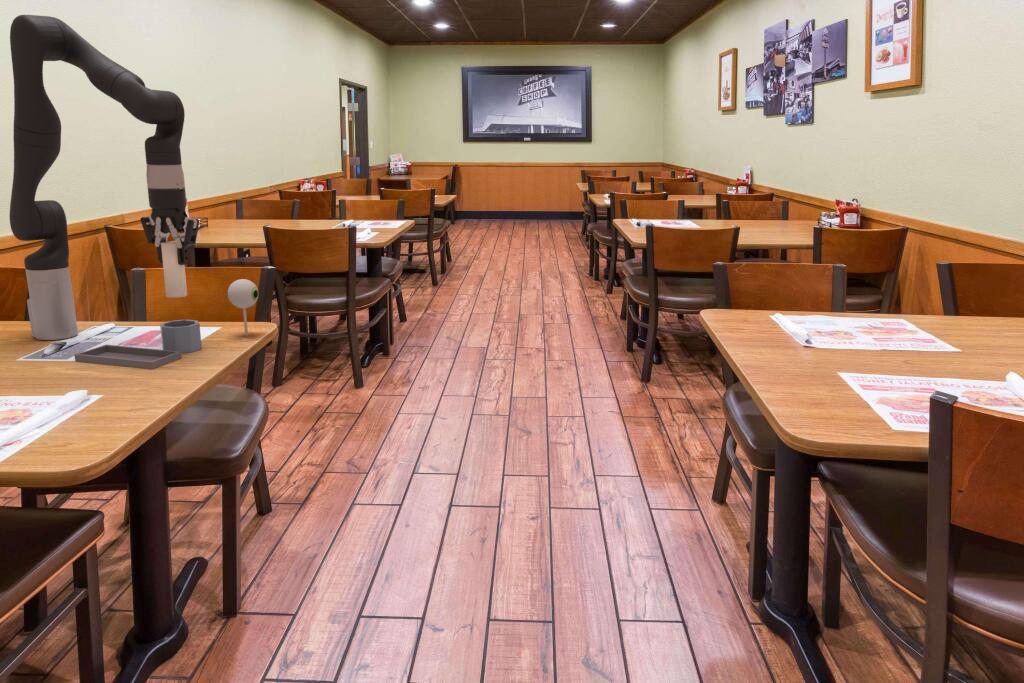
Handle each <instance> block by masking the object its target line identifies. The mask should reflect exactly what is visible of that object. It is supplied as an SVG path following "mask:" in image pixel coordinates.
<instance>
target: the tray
mask: <svg viewBox="0 0 1024 683" xmlns="http://www.w3.org/2000/svg"><path fill="white" fill-rule="evenodd" d="M181 359H182V354H181V352H180V351H170V350H163V349H158V348H148V347H137V346H125V345H115V344H104V345H100V346H98V347H94V348H91V349H88V350H84V351H82V352H78V353H75V354H74V361H75V362H79V363H87V364H96V365H104V366H105V365H109V366H119V367H128V368H133V369H135V368H136V369H137V368H138V369H144V370H155V369H158V368H160V367H163V366H165V365H169V364H170V363H173V362H175V361H178V360H181Z"/></svg>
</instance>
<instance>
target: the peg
mask: <svg viewBox="0 0 1024 683" xmlns="http://www.w3.org/2000/svg"><path fill="white" fill-rule="evenodd" d="M177 248H178V246H177V244H176V241H175V240H172V241H167V242H162V243H161V249H162V259H163V264H162V266H163V267H162V268H163V276H164V277H163V278H164V287H165V289H164V290H165V297H167V298H183V297H186V296H188V288H187V277H186V266H185V265H186V264H185V265H179V264H178V255H177Z"/></svg>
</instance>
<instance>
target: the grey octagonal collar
mask: <svg viewBox="0 0 1024 683" xmlns="http://www.w3.org/2000/svg"><path fill="white" fill-rule="evenodd" d="M200 326H201V325H200V322H199V320H195V319H177V320H176V319H175V320H168V321H166V322H161V323H160V324H159V327H160V328H159V329H160V337H161V338H160V339H161V347H162V350H170V351H180V352H181V355H182V354H192V353H195V352H198V351H200V350H202V349H203V348H202V337H201V335H202V334H201V327H200Z"/></svg>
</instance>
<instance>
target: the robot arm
mask: <svg viewBox="0 0 1024 683" xmlns="http://www.w3.org/2000/svg"><path fill="white" fill-rule="evenodd" d="M9 30H10V31H9V45H10V55H11V66H12V75H13V100H14V104H13V105H14V106H13V107H14V109H13V110H14V111H13V174H12V175H13V176H12V177H13V179H12V187H11V195H10V205H9V224H10V231H11V232H12V234H13V235H14V237H15V238H16V239H17V240H19V241H21V242H33V241H42V240H44V243H43V244H42V246H41V247H40V248H39V249H37V250H35V251H34V252H32V253H30V254H28V255H26V256H24V260H23V262H24V269H25V276H26V283H27V288H28V294H29V298H27V300H26V305H27V311H28V317H29V318H28V319H29V325H30V331H31V336H32V338H35V339H37V340H39V341H56V340H58V341H59V340H64V339H65V340H66V339H68V338H69V339H71V338H72V337H75V336H77V335H78V334H79V332H78V324H77V316H76V307H75V301H74V300H75V299H74V294H73V293H74V292H73V287H72V277H71V271H70V264H69V258H70V248H69V247H70V246H69V233H68V222H67V216H66V213H65V212H66V211H65V210H64V208H63V206H62V204H61V203H59V202H58V201H57V200H51V199H50V200H48V199H45V200H36V193H37V191H38V187H39V185H40V183H41V181H42V179H43V178H44V177H45V175H46V173H47V172H49V170H50V168H52V166H53V165H54V163H55V161H56V160H57V158H58V157H59V155H60V152H61V145H62V144H61V143H62V122H61V118H60V116H59V113H58V112H57V109H56V108H55V106H54V104H53V103H52V101H51V99H50V97H49V95H48V93H47V92H46V89H45V86H44V85H45V84H44V62H59V61H61V62H64V63H67V64H70V65H73V66H75V67H77V68H79V69H80V70H81V71H83V72H84V73H85V75H86V77H87V79H88V80H89V82H90V83H91V84H92V86H93V87H95V88H96V89H97V90H99V91H100V92H101V93H102V94H105V95H106V96H108V98H111V99H113V100H115V102H117V103H119V104H120V105H122V107H123V108H124V109H125V110H126V111H128V113H130V115H131V116H133V117H134V118H135V119H137V120H138V121H140V122H143V123H145V124H149V125H156V127H155V132H154V134H153V135H152V136H149V137H147V138H146V139H145V140H144V154H145V163H146V175H145V176H146V187H147V195H148V204H149V207H150V208H151V213H150V215H148V216H142V217H140V219H139V220H140V223H141V226H142V229H143V231H144V234H145V237H146V239H147V242H148V244H149V245H151V244H152V245H154V246H155V247H156V251H157V252H156V255H157V260H158V262H159V264H161V265H163V259H162V249H161V243H162V242H168V238H169V237H170V235H171V237H172V239H174V241H176V244H177V246H178V248H177V255H178V264H179V265H187V264H188V262H189V259H190V258H189V247H190V246H193V245H196V242H197V237H198V232H199V227H200V226H199V225H200V220H199V219H198V218H192V217H189V216H188V214H187V212H186V208H187V205H188V204H187V193H186V185H185V184H186V183H185V174H184V171H183V165H182V154H181V152H182V151H181V147H180V146H181V143H182V141H181V140H182V136H183V130H184V123H185V117H186V116H185V107H184V105H183V102H182V100H181V98H180V97H179V96H178V95H177V94H176V93H174V92H172V91H170V90H159V89H151V88H148V87H146V83H145V82H144V81H143V79H142V78H141V77H140V76H138V75H137V74H135V73H134V72H132V71H130V70H129V69H128V68H126V67H124V66H122V65H121V64H119V63H118V62H116V61H114V60H112V59H111V58H109V57H108V56H106V55H105V54H103V53H102V52H101V51H100V50H98V49H97V48H96V47H94V46H93V45H92V44H91V43H90V42H89V41H87V40H86V39H85V38H83V36H81V34H79V32H77V31H76V30H75V29H73V28H72V27H71V26H70V25H68V24H67V23H66V22H65V21H63V20H61V19H59V18H57V17H54V16H46V15H36V14H35V15H33V14H20V15H17V16H16V17H14V19H13V20H12V22H11V25H10V29H9Z"/></svg>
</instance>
